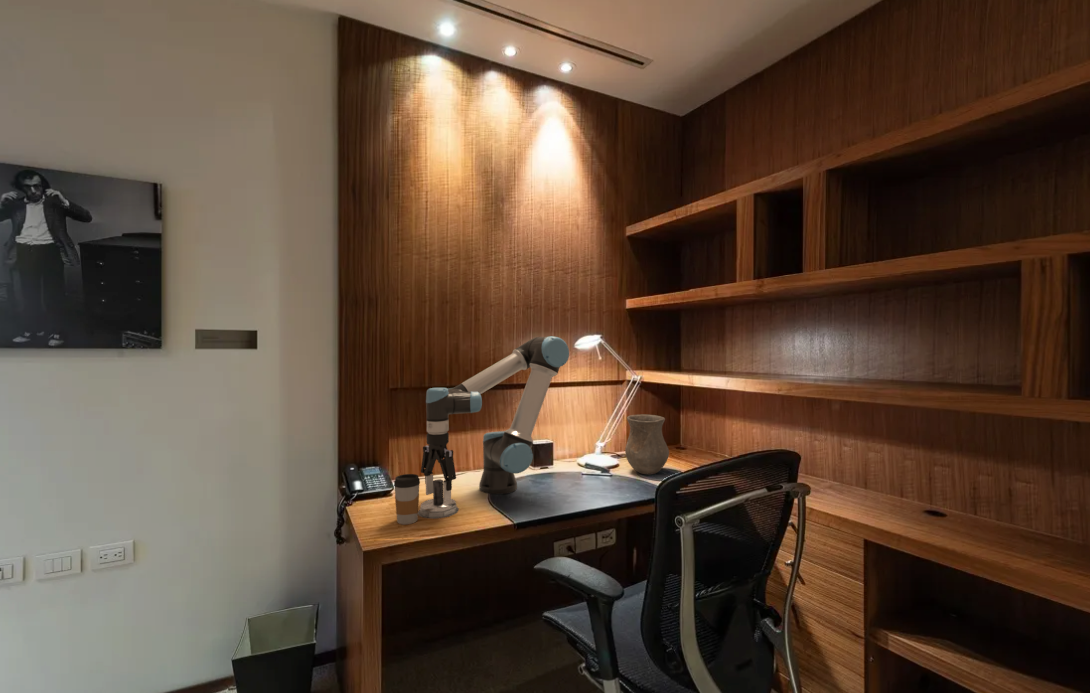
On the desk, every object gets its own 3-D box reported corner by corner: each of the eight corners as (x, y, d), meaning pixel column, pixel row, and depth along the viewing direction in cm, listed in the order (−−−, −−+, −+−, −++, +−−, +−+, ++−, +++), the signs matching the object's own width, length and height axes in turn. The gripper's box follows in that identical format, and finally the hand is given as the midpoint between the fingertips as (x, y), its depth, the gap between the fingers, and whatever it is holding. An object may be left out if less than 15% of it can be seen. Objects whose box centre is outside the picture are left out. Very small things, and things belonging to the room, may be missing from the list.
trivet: (460, 504, 169) (460, 502, 169) (457, 518, 155) (457, 517, 155) (421, 506, 168) (421, 504, 168) (414, 520, 154) (414, 519, 154)
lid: (457, 504, 168) (456, 475, 168) (454, 516, 156) (454, 485, 156) (423, 505, 167) (423, 476, 167) (418, 518, 155) (417, 486, 155)
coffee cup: (397, 518, 156) (397, 473, 156) (422, 517, 157) (422, 473, 157) (391, 527, 148) (390, 481, 148) (417, 526, 149) (417, 480, 149)
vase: (678, 475, 203) (677, 418, 203) (641, 481, 196) (641, 422, 195) (651, 464, 221) (651, 412, 221) (616, 469, 214) (616, 415, 214)
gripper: (409, 430, 165) (410, 493, 165) (449, 437, 151) (450, 506, 152) (427, 427, 171) (427, 487, 171) (466, 434, 157) (467, 500, 158)
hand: (438, 496), depth 161 cm, fingers open, 9 cm apart
